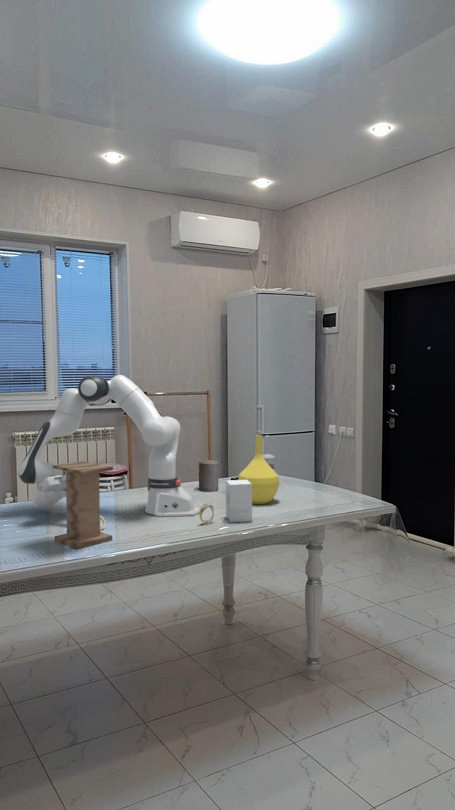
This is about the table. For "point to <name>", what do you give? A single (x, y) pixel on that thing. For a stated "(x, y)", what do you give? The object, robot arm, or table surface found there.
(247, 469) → the vase
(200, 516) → the ring
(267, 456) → the french press
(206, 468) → the pillar candle
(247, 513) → the supplement box
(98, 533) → the stand
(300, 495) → the table surface
